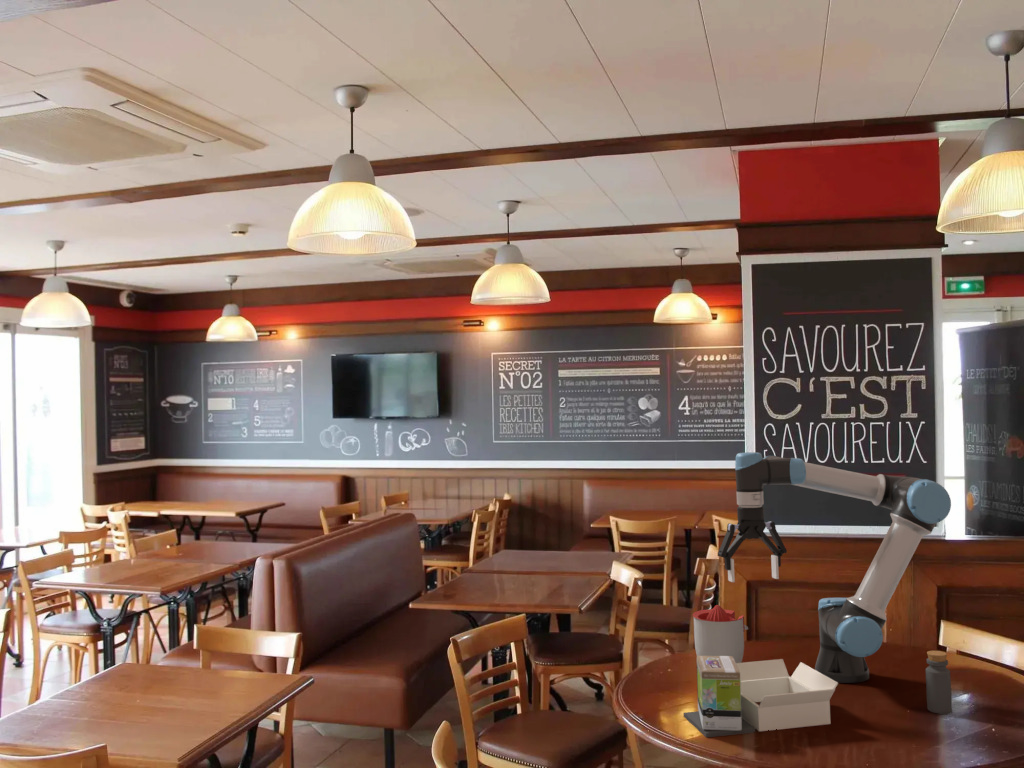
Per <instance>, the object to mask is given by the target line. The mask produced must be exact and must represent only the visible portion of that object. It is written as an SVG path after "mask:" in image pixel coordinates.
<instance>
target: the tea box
mask: <svg viewBox="0 0 1024 768" xmlns="http://www.w3.org/2000/svg"><path fill="white" fill-rule="evenodd" d="M696 682H697V684H696V686H697V687H696V688H697V690H696V691H697V711H699V715H700V719H701V724H702V728H703V729H705V730H733V731H738V730H741V729H742V721H741V682H740V671H739V669H738V667H737V664H736V662H735V660H734V658H733V656H697V655H696Z"/></svg>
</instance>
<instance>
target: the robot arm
mask: <svg viewBox="0 0 1024 768" xmlns="http://www.w3.org/2000/svg"><path fill="white" fill-rule="evenodd" d="M734 464H735V468H734V470H735V483H736V484H735V485H736V489H735V490H736V491H735V492H736V505H738V507H736V512H737V513H736V516H737V524H736V523H735V524H734V523H727V525H726V527H727V528H726V532H725V535H724V537H723V539H722V543H721V544H720V547H719V549H718V552H717V556H719V557H720V558H723V559H724V569H725V570H726V571H727V581H729V582H731V583H735V582H736V581H735V580H736V579H735V559H734V558H732V557H733V556H734V554H735V553H736V552H737V550H738V549H739V547H740V546H741V545H742V543H743V542H744V541H745V540H746V539H747V540H751V539H760V540H761V541H762V542H763V544H765V546H767V548H768V549H769V550H770V551H771V552H772V553H773V554H771V556H770V562H771V565H770V566H771V578H772V579H774V580H779V579H780V577H779V576H780V575H779V573H780V572H779V571H780V570H779V567H781V566H782V563H781V562H782V560H781V559H782V556H783V555H784V554H787V552H788V550H787V548H786V545H785V544H784V543H783V540H782V538H781V537H780V535H779V532H778V531H777V528H776V523H775V522H774V521H770V520H768V521H767V522H766V521H765V508H764V506H763V505H764V503H765V502H764V486H769V485H772V486H774V485H782V486H784V485H792V486H797V487H801V488H806V489H810V490H815V491H821V492H825V493H830V494H836V495H840V496H844V497H849V498H850V497H851V498H855V499H858V500H859V499H860V500H864V501H869V502H871V503H872V504H873V505H874V506H876V507H881V508H884V509H888V510H891V511H890V513H889V515H890V518H891V520H892V523H891V524H890V526H889V528H888V529H887V532H886V534H885V536H884V537H883V539H882V542H881V543H880V545H879V548H878V550H877V551H876V554H875V555H874V557H873V559H872V561H871V563H870V565H869V567H868V569H867V571H866V572H865V574H864V577H863V579H862V581H861V583H860V585H859V587H858V588H857V590H856V592H855V593H854V595H852V596H850V597H824V598H820V599H819V601H818V608H817V611H818V626H819V647H820V648H819V650H818V651H819V652H818V655H817V658H816V661H815V666H814V670H816V671H818V672H820V673H821V674H823V675H825V676H827V677H829V678H831V679H832V680H834V681H836V682H838V683H845V684H856V683H862V682H866V681H868V680H869V679H870V669H869V667H868V664H867V662H866V658H865V657H868V656H869V657H870V656H872V655H873V654H875V653H877V651H878V650H879V649H880V648H881V646H882V644H883V639H884V635H883V634H884V633H883V631H882V630H883V627H884V626H885V624H886V622H887V616H886V614H885V613H886V612H885V610H886V608H887V606H888V604H889V603H890V600H891V598H892V596H893V595H894V593H895V591H896V589H897V587H898V585H899V583H900V581H901V579H902V577H903V575H904V574H905V572H906V570H907V567H908V566H909V563H910V562H911V560H912V558H913V557H914V556H913V555H914V554H915V552H916V550H917V548H918V546H919V544H920V542H921V540H922V538H923V537H924V536H927V535H930V534H932V532H933V530H934V528H935V526H936V525H937V523H938V524H939V523H940V522H942V521H944V520H945V519H947V517H948V515H949V514H950V511H951V508H952V507H951V506H952V501H951V497H950V493H948V491H947V490H946V488H945V487H944V486H943V485H941V484H940V483H937V482H936V481H935V480H934V481H933V480H930V479H927V478H919V477H915V476H898V475H897V476H896V475H888V474H882V473H879V474H877V475H876V476H875V475H869V474H866V473H861V472H855V471H850V470H846V469H840V468H835V467H830V466H825V465H821V464H815V463H810V462H805V461H804V459H802V458H796V457H795V458H794V457H789V458H786V457H782V456H777V455H772V454H771V455H767V456H764V457H763V455H762V453H761V452H748V451H747V452H739V453H737V454H736V456H735V462H734ZM766 529H767V530H768V532H769V534H770V536H771V538H772V539H773V541H774V543H773V542H772V541H771V539H770V538H769V537H768V535H767V534H766V533H765V530H766ZM736 531H738V533H737V534H736V536H735V538H734V535H735V532H736ZM733 538H734V540H733ZM732 540H733V542H732ZM731 542H732V543H731Z"/></svg>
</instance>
